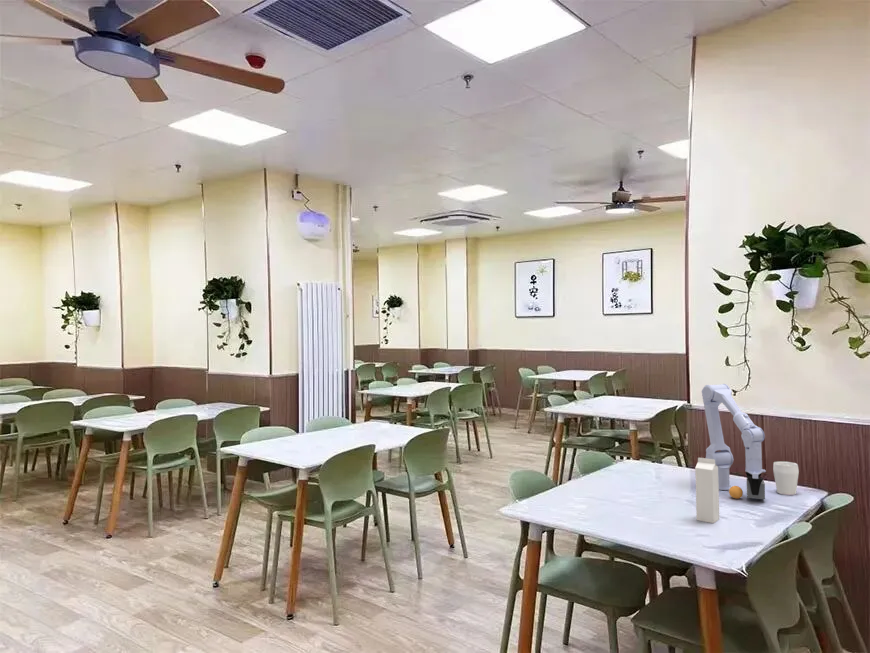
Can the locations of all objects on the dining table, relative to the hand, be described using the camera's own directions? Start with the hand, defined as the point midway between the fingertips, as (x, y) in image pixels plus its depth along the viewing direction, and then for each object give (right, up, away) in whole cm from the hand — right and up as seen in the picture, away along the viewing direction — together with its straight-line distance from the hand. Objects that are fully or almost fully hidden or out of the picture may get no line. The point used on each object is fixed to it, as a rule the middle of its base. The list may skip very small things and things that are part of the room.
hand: (754, 492), depth 239 cm
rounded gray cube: (0, -1, 0) cm, 2 cm away
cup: (+18, -3, +9) cm, 20 cm away
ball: (-6, -1, +3) cm, 7 cm away
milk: (-28, -4, -22) cm, 36 cm away
